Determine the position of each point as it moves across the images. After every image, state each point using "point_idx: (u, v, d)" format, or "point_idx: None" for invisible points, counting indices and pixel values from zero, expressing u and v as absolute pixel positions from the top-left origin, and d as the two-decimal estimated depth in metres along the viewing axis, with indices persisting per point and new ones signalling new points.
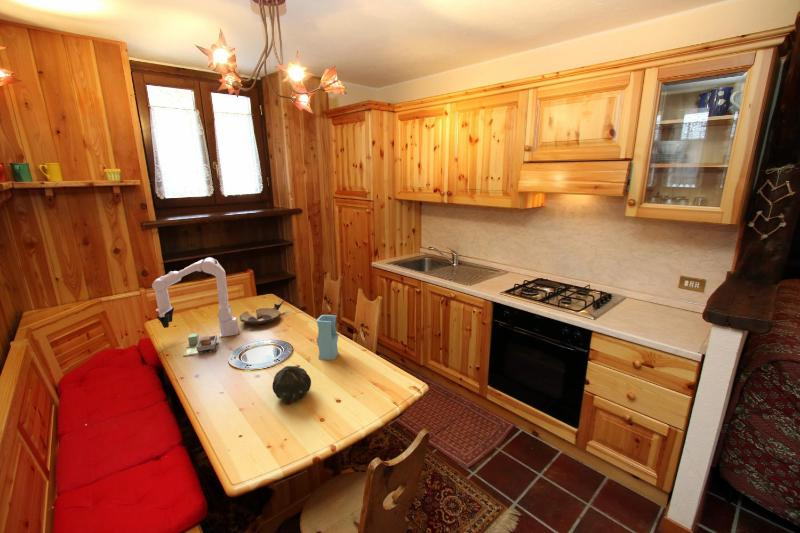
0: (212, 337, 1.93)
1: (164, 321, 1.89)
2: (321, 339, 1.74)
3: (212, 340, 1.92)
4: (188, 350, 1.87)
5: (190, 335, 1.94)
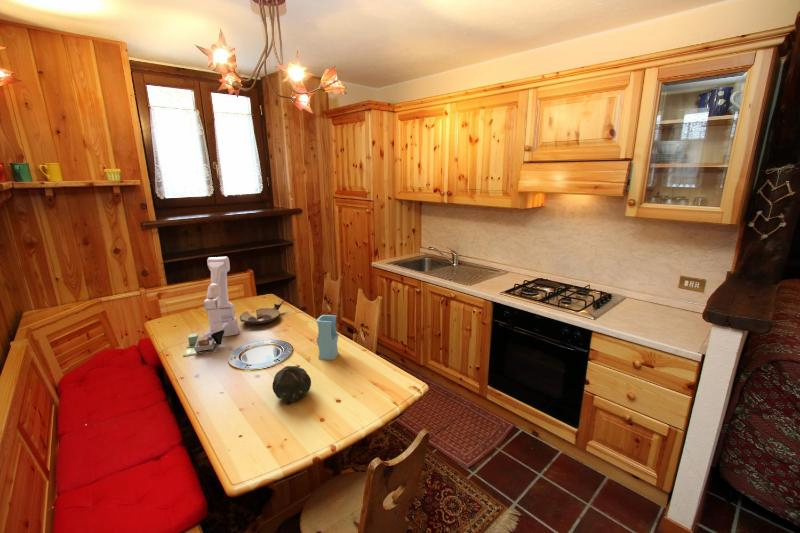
0: (210, 337, 1.93)
1: (216, 338, 1.88)
2: (321, 339, 1.74)
3: (210, 340, 1.92)
4: (188, 350, 1.87)
5: (190, 335, 1.94)
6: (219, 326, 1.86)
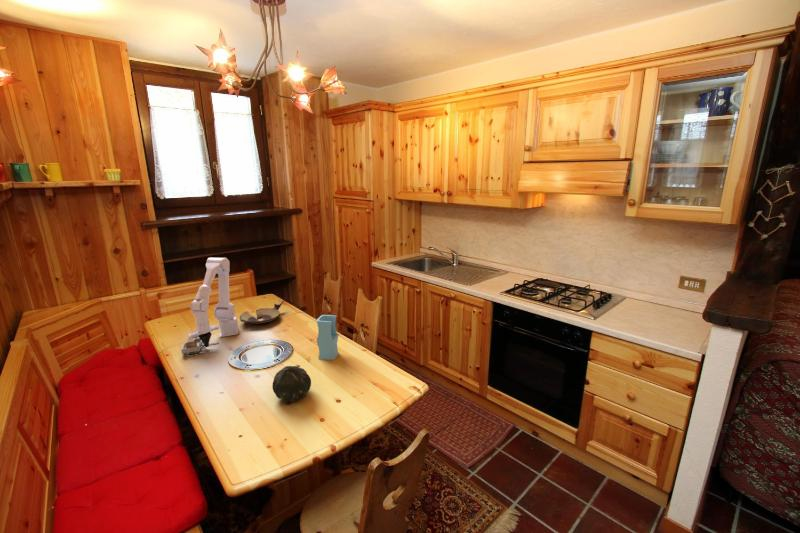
0: (198, 339, 1.91)
1: None
2: (321, 339, 1.74)
3: (198, 342, 1.90)
4: None
5: None
6: (205, 328, 1.83)
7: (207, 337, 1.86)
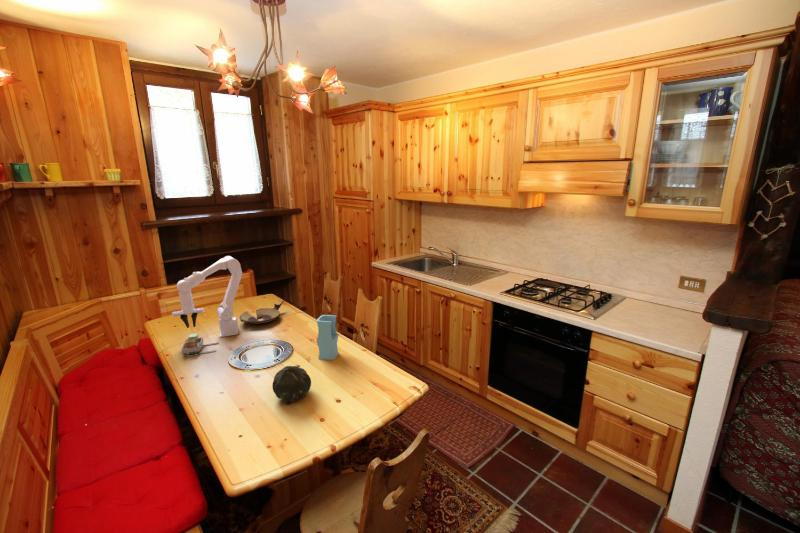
0: (198, 339, 1.91)
1: None
2: (321, 339, 1.74)
3: (198, 342, 1.90)
4: None
5: (190, 335, 1.94)
6: (186, 309, 1.87)
7: None
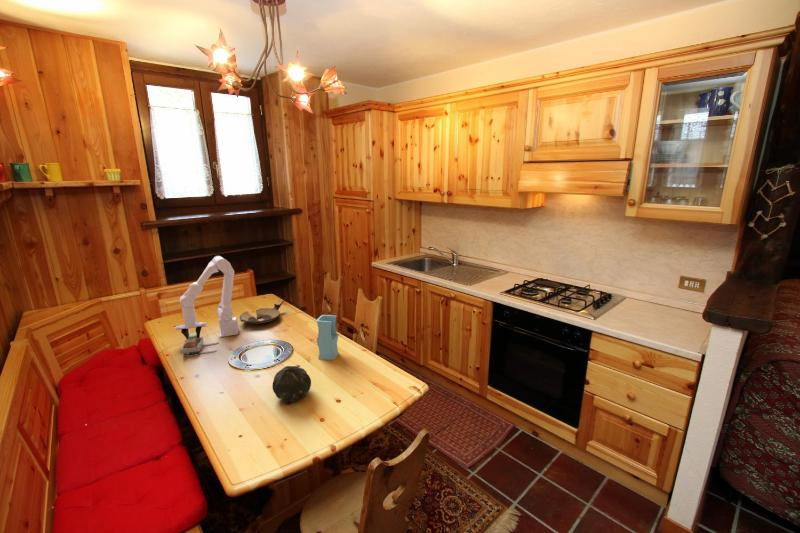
0: (198, 339, 1.91)
1: None
2: (321, 339, 1.74)
3: (198, 342, 1.90)
4: None
5: (190, 335, 1.94)
6: (188, 324, 1.90)
7: (196, 331, 1.92)
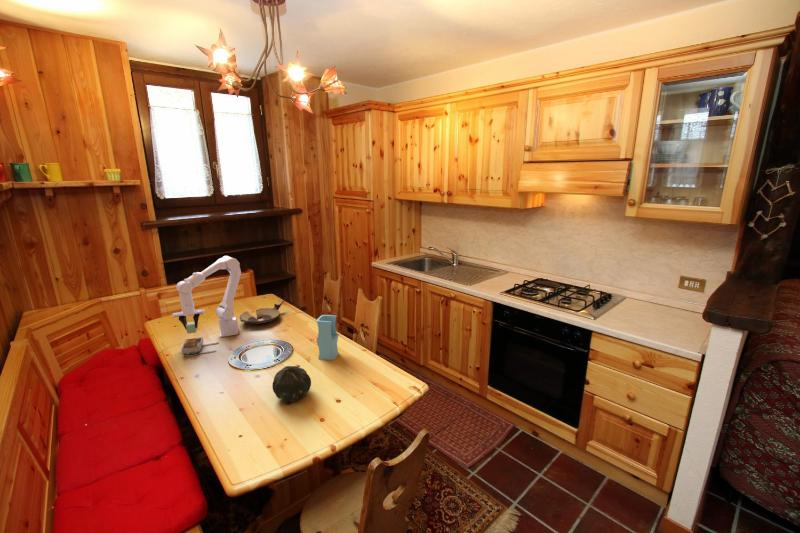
0: (198, 339, 1.91)
1: None
2: (321, 339, 1.74)
3: (198, 342, 1.90)
4: None
5: (188, 323, 1.90)
6: (186, 311, 1.86)
7: None
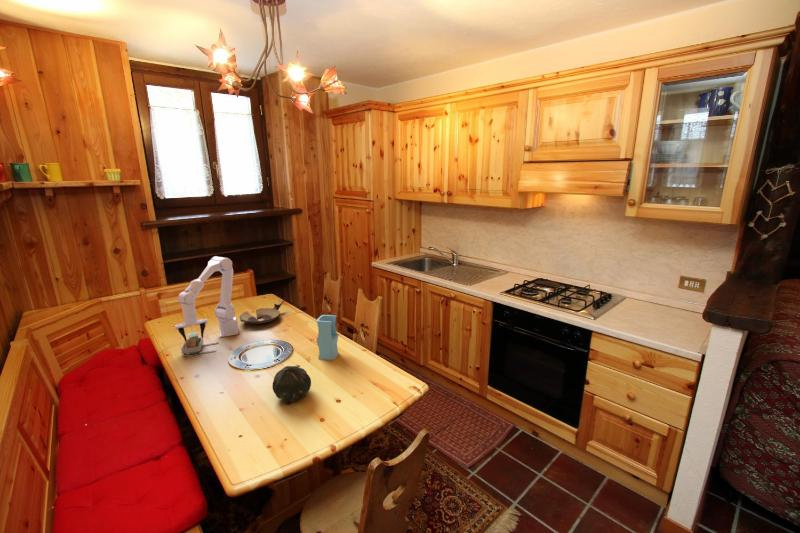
0: None
1: None
2: (321, 339, 1.74)
3: None
4: None
5: (190, 335, 1.86)
6: (190, 321, 1.82)
7: (201, 328, 1.86)
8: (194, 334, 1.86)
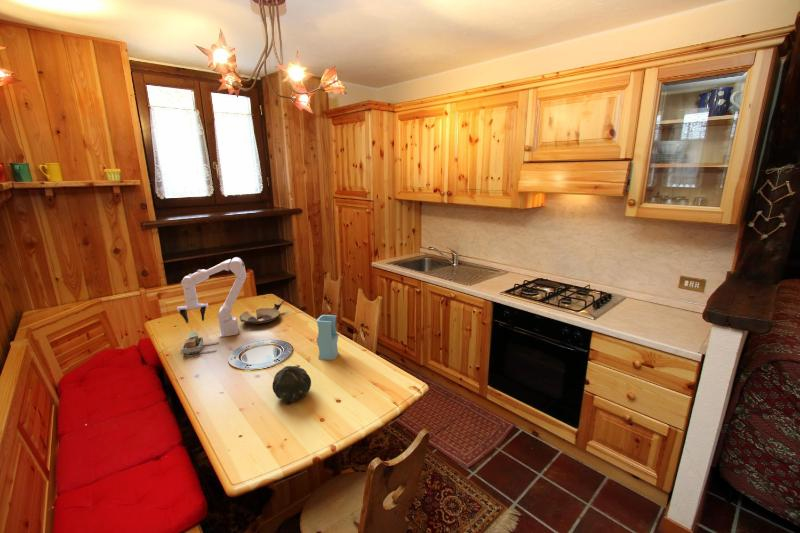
0: None
1: None
2: (321, 339, 1.74)
3: None
4: None
5: (190, 335, 1.86)
6: (190, 304, 1.93)
7: None
8: (194, 334, 1.86)
